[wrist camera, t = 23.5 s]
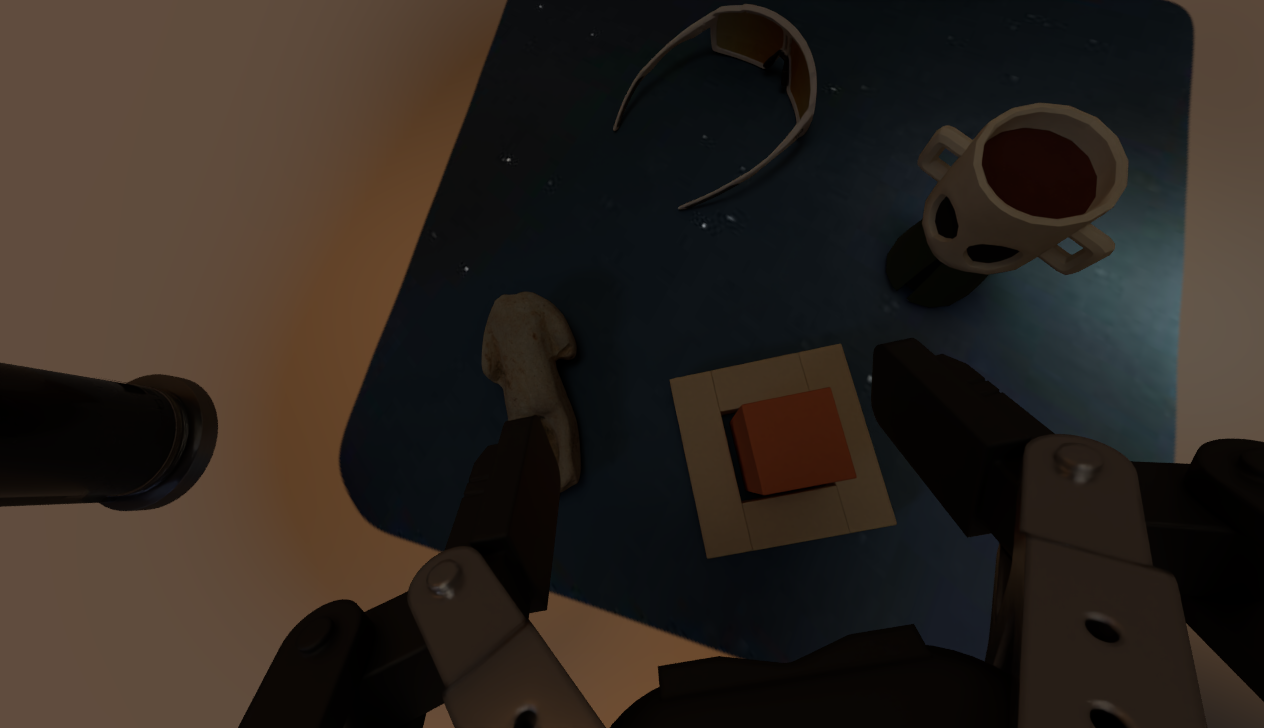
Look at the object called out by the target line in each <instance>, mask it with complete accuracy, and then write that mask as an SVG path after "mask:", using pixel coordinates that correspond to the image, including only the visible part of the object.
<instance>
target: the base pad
mask: <svg viewBox="0 0 1264 728" xmlns="http://www.w3.org/2000/svg"><path fill="white" fill-rule="evenodd" d="M670 385H671V390H672V395H673V399H674V404H675V409H676V414H677V418H678V423H679V428H680V432H681V437H682V442H683V447H684V451H685V456H686V461H687V466H688V470H689V475H690V480H691V484H692V489H693V494H694V499H695V503H696V508H697V513H698V517H699V522H700V527H701V532H702V536H703V541H704V546H705V551H706V555H707V558H708V559H709V558H715V557H720V556H726V555H731V554H737V553H743V552H748V551H752V550H760V549H765V548H771V547H776V546H782V545H787V544H793V543H798V542H804V541H809V540H815V539H821V538H826V537H832V536H837V535H843V534H848V533H853V532H859V531H864V530H870V529H875V528H881V527H886V526H892V525H896V524H897V522H896V519H895V516H894V513H893V509H892V506H891V503H890V500H889V496H888V493H887V490H886V487H885V484H884V480H883V477H882V474H881V471H880V467H879V464H878V461H877V458H876V455H875V451H874V448H873V445H872V442H871V438H870V435H869V432H868V429H867V425H866V422H865V419H864V416H863V413H862V409H861V406H860V403H859V400H858V396H857V393H856V390H855V387H854V383H853V380H852V377H851V374H850V371H849V367H848V364H847V361H846V358H845V354H844V351H843V348H842V345H841V344H836V345H832V346H827V347H822V348H817V349H813V350H808V351H803V352H799V353H793V354H789V355H784V356H779V357H774V358H769V359H765V360H760V361H755V362H750V363H745V364H741V365H736V366H731V367H726V368H722V369H717V370H712V371H707V372H703V373H698V374H693V375H688V376H683V377H679V378H674V379H670ZM827 387H830V388H831V390H832V394H833V397H834V400H835V404H836V407H837V411H838V414H839V417H840V421H841V424H842V428H843V431H844V434H845V438H846V441H847V445H848V448H849V451H850V455H851V458H852V462H853V465H854V469H855V472H856V475H857V478H855V479H850V480H844V481H839V482H833V483H828V484H826V485H824V486H819V487H813V488H808V489H803V490H797V491H792V492H787V493H781V494H776V495H771V496H766V497H760V498H755V499H750V500H744V501H741V498H740V493H739V489H738V485H737V481H736V476H735V472H734V468H733V464H732V459H731V455H730V451H729V446H728V442H727V438H726V434H725V429H724V425H723V421H722V417H721V416H722V415H727V414H732V413H736V412H737V411H738V409H739V408H740V406H741V405H742V404H747V403H752V402H757V401H762V400H767V399H772V398H777V397H782V396H787V395H792V394H797V393H802V392H807V391H812V390H817V389H822V388H827Z"/></svg>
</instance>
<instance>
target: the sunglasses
mask: <svg viewBox="0 0 1264 728" xmlns="http://www.w3.org/2000/svg"><path fill="white" fill-rule="evenodd" d="M710 27H711V43H712V49H713V51H715V52H719V53H722V54H726V55H729V56H732V57H735V58H739V59H741V60H744V61H747V62H749V63H752V64H754V65H756V66H758V67H760V68H762V69H765V68H770V67H771V66H772V64H773V63H774V62H775V61H776V60H777V59H778V58H779V57H781V58H782V59H783V60H784V66H783V71H782V81H781V85H782V86H787V94H788V96H789V98H790V100H791V103H792V105H793V108H794V112H795V116H796V121H797V124H796V126H795V127H794V128H793V130H792V131H791V132H790V133H789V134H788V136H787V137H786V138H785V139H784V141H783V142H782V143H781V144H780V145H779V146H778V147H777V148H776V149H775V150H774V151H773V152H772V153H771V154H770V155H769V156H768V157H767V158H766V159H765V160H763V161H762V162H761V163H760V164H758V165H757V166H756V167H754V168H753V169H752V170H750V171H749V172H747V173H745V174H744V175H742V176H740V177H739V178H737V179H735V180H734V181H732V182H730V183H728V184H726V185H724V186H723V187H721V188H719V189H717V190H715V191H713V192H711V193H709V194H707V195H705V196H703V197H700V198H698V199H696V200H693V201H691V202H689V203H686V204H684V205H682V206H680V207H678V209H680V210H681V209H687V208H690V207H693V206H695V205H698V204H700V203H703V202H705V201H707V200H709V199H712V198H714V197H716V196H718V195H720V194H722V193H723V192H725V191H727V190H729V189H731V188H733V187H735V186H737V185H738V184H740V183H742V182H743V181H745V180H747V179H749V178H750V177H752V176H753V175H754V174H756V173H757V172H758V171H759V170H760V169H762V168H763V167H764V166H765V165H766V164H767V163H769V162H770V161H771V160H773V159H774V158H775V157H776V156H777V155H779V154H780V153H781V152H782V151H784V150H785V149H786V148H787V147H789V146H790V145H791V144H792V143H793V142H795V141H796V140H797V138H798V137H802V136H803V135H804V134H805V133H806V131H807V130H808V128H809V126H810V123H811V121H812V119H813V114H814V109H815V103H816V91H817V81H816V68H815V64H814V60H813V56H812V54H811V52H810V49H809V47H808V45H807V43H806V41H805V40H804V38H803V37H802V35H801V34H800V33H799V31H798V30H797V29H796V28H795V27H794V26H793V25H792V24H791V23H790V22H789V21H787V20H786V19H785V18H783V17H782V16H780V15H779V14H777V13H775V12H773V11H771V10H769V9H766V8H763V7H759V6H756V5H750V4H744V5H736V6H723V7H720V8H718V9H717V10H716V11H713V12H711V13H710V14H708V15H706V16H705V17H703V18H702V19H700V20H699V21H697V22H695V23H694V24H692V25H691V26H690V27H688V28H687V29H685V30H684V31H683V32H681V33H680V34H679V35H678V36H676V37H675V38H674V39H673V40H672V41H671V42H670V43H668V44H667V45H666V46H665V47H664V48H663V49H662V50H661V51H660V52H659V53H658V54H657V55H656V56H655V57H654V58H653V59H652V60H651V61H650V62H649V63H648V64H647V65H646V66H645V67H644V68H643V69H642V70H641V71H640V72H639V74H638V75H637V77H636V78H635V80H634V81H633V83H632V85H631V87H630V88H629V90H628V92H627V94H626V96H625V98H624V101H623V103H622V105H621V108H620V110H619V113H618V116H617V119H616V121H615V124H614V127H613V131H616V130H617V129H618V128H619V125H620V122H621V119H622V117H623V114H624V112H625V109H626V107H627V104H628V102H629V100H630V98H631V96H632V94H633V93H634V91H635V89H636V88H637V86H638V85H639V83H640V82H641V81H642V79H643V78H644V77H645V76H646V75H647V74H648V73H649V72H650V71H651V70H652V69H653V68H654V67H655V66H656V64H657V63H658V62H659V61H660V60H661V59H662V57H663V56H664V55H665V54H667V53H668V52H669V51H670V50H671V49H672V48H674V47H675V46H677V45H678V44H680V43H682V42H684V41H686V40H688V39H691V38H694V37H696V36H697V35H698V34H700V33H701V32H703V30H706V29H708V28H710Z"/></svg>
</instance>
